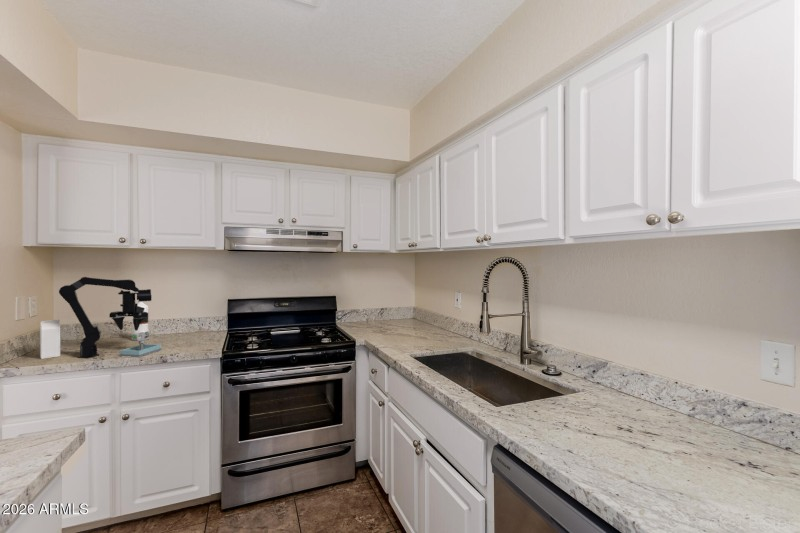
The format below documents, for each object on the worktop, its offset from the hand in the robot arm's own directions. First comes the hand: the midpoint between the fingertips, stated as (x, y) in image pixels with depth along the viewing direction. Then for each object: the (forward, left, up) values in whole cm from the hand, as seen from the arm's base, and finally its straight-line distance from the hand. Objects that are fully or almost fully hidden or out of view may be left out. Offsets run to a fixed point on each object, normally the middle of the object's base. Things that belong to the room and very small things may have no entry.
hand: (128, 330), depth 199 cm
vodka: (-19, +29, -12) cm, 37 cm away
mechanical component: (+9, -2, -11) cm, 15 cm away
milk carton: (-31, -15, -12) cm, 37 cm away
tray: (+9, -2, -12) cm, 15 cm away
